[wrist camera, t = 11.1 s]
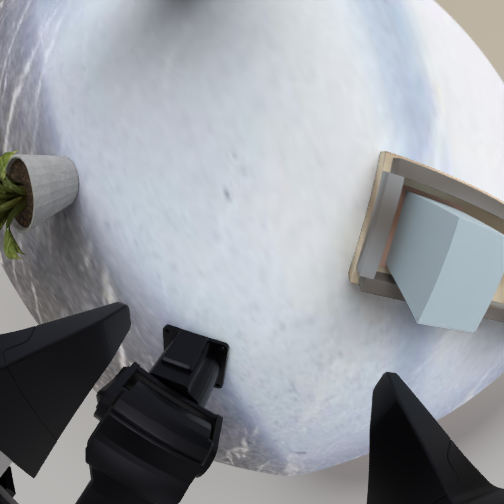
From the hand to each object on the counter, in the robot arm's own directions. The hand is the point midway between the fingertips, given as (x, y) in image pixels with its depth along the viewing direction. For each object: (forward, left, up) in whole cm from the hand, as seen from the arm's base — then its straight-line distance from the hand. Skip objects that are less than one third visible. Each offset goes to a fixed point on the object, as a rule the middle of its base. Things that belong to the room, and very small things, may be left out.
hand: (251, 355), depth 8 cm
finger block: (+3, -9, -10) cm, 14 cm away
